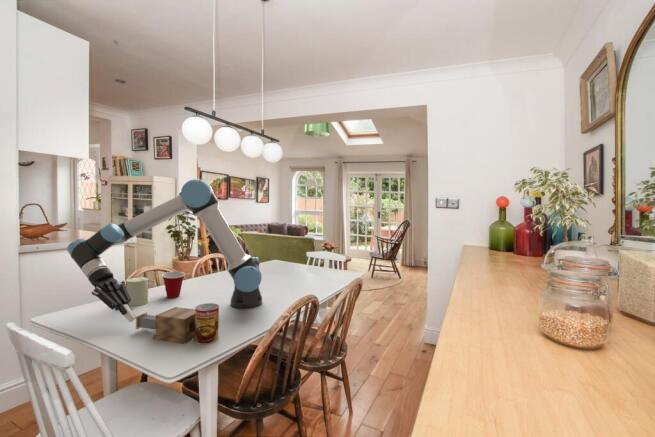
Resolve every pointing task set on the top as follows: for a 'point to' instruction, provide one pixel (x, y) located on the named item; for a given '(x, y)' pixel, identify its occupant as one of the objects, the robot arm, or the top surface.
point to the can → (137, 291)
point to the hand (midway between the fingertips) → (132, 319)
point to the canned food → (206, 323)
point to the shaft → (147, 321)
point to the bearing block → (175, 325)
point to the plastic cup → (173, 283)
